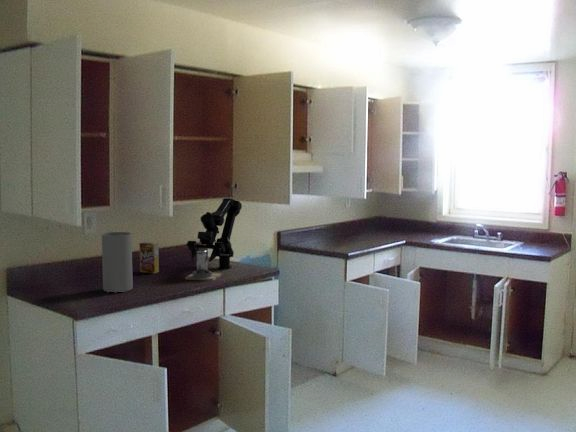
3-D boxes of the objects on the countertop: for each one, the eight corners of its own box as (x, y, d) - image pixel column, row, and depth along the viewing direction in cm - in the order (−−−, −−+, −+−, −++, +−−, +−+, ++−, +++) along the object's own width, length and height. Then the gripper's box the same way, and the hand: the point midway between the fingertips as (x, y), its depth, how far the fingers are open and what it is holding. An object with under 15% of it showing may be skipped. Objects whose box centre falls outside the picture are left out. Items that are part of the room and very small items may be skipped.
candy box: (139, 272, 296) (138, 242, 295) (144, 271, 300) (143, 241, 299) (154, 273, 293) (153, 243, 292) (159, 272, 297) (158, 242, 296)
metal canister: (196, 275, 286) (196, 249, 284) (208, 274, 286) (207, 249, 285) (196, 277, 280) (196, 251, 279) (208, 277, 281) (207, 251, 280)
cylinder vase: (101, 288, 260) (99, 232, 258) (129, 285, 266) (128, 231, 263) (105, 294, 249) (104, 236, 247) (135, 291, 255) (134, 234, 252)
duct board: (195, 273, 294) (195, 271, 294) (222, 275, 291) (222, 273, 291) (185, 279, 280) (185, 277, 280) (212, 280, 277) (212, 278, 277)
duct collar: (196, 273, 289) (196, 269, 288) (214, 274, 287) (214, 270, 286) (190, 277, 280) (190, 273, 280) (207, 278, 278) (207, 274, 278)
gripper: (188, 224, 287) (177, 249, 278) (222, 225, 282) (213, 252, 272) (195, 238, 296) (185, 263, 286) (229, 239, 290) (220, 265, 281)
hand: (200, 260), depth 281 cm, fingers open, 9 cm apart
